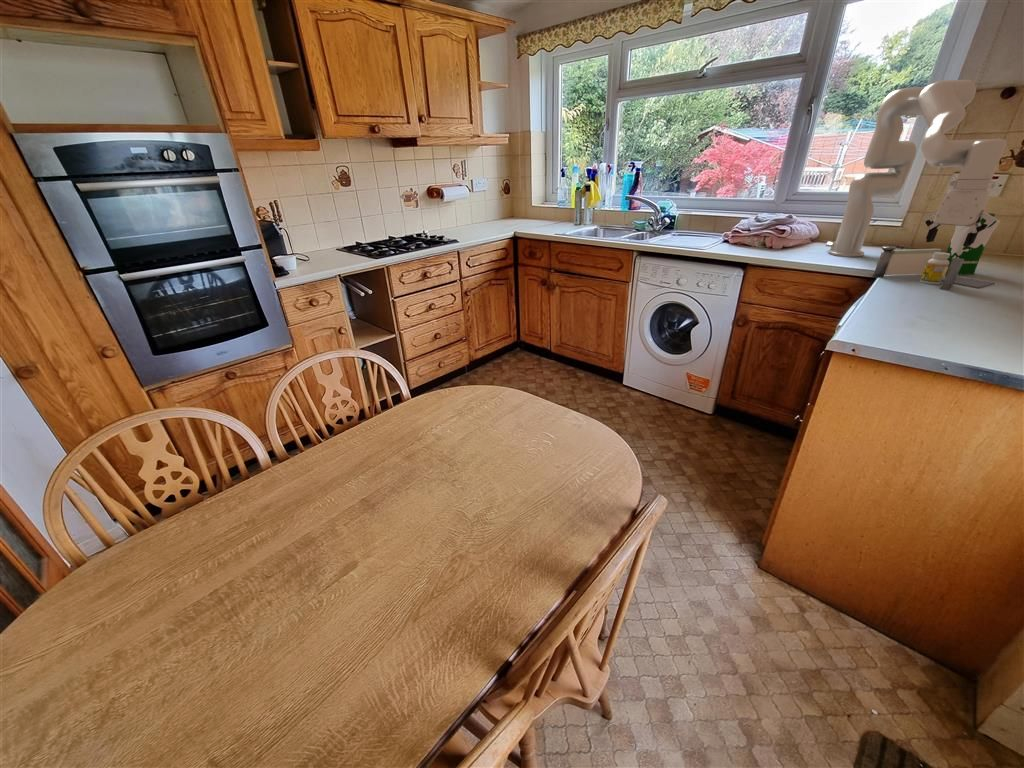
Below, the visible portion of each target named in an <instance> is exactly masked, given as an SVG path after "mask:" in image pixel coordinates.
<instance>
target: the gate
mask: <svg viewBox="0 0 1024 768" xmlns="http://www.w3.org/2000/svg"><path fill="white" fill-rule="evenodd" d="M942 251H943V250H942V249H941V248H921V249H920V248H919V249H918V248H917V249H915V248H913V249H895V250H894V251H893V253H892V256H891V259H890V261H889V264H888V267H887V269H886V272H885V275H884V276H896V275H898V276H899V275H922V274H923V272H924V269H925V267H926V264H927V262H928V260H930V259H933V254H934V253H935V252H942Z"/></svg>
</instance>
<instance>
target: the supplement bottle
mask: <svg viewBox="0 0 1024 768" xmlns="http://www.w3.org/2000/svg"><path fill="white" fill-rule="evenodd" d="M949 256H950V254H949V253H946V252H942V251H941V252H935V253H934V254H933V259H930V260H928V262H927V264H926V267H925V269H924V272H923V274H921V277H920V279H919V281H920V282H921V283H922V282H923V283H924V284H927V283H928V284H927V285H940V284H942V280H944V278H945V276H943V275H942V273H943V271H944V268H946V267H948V265H949V261H948V260H947V259H948V258H949ZM923 283H922V284H923Z"/></svg>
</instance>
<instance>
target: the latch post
mask: <svg viewBox="0 0 1024 768" xmlns="http://www.w3.org/2000/svg"><path fill="white" fill-rule="evenodd" d="M963 261H964V259H960V258H954V259H953V260H952V262H951V264H950V267H949V268H948V267H946V268H944V271H943V273H942V275H943V276H944V277H943V279H942V280H943V282H941V285H940V288H939V289H940V290H945V291H950V290H952V287H953V285H954V284H953V283H954V281H955V279H956V277H957V276H958V275H959V274H958V272H959V270H960V268H961V266H962V264H963Z"/></svg>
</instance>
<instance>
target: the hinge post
mask: <svg viewBox="0 0 1024 768" xmlns="http://www.w3.org/2000/svg"><path fill="white" fill-rule="evenodd" d="M881 249H882V250H881V253H880V256H879V258H878V262H877V264H876V267H875V270H874V272H873V277H875V278H884V277H885V276H886V275H885V272H886V269H887V267H888V264H889V261H890V259H891V256H892V253H893V251H894V250H897V247H896V246H890V245H883V246H881Z"/></svg>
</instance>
